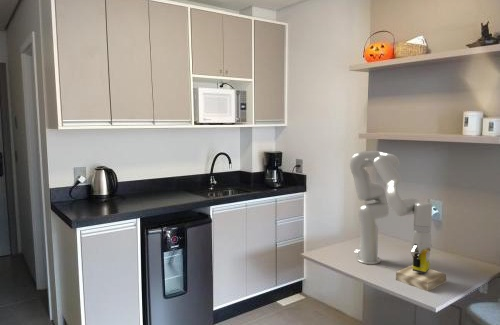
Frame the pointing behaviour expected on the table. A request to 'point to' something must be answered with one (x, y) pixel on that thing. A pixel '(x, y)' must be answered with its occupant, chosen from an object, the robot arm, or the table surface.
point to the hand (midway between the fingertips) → (420, 264)
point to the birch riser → (421, 278)
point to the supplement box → (423, 261)
